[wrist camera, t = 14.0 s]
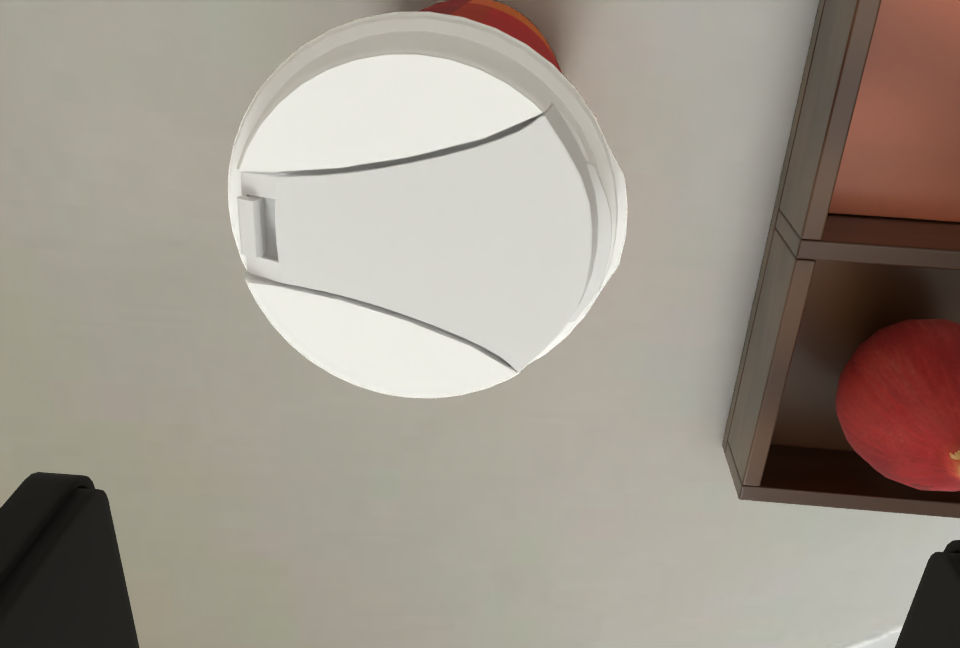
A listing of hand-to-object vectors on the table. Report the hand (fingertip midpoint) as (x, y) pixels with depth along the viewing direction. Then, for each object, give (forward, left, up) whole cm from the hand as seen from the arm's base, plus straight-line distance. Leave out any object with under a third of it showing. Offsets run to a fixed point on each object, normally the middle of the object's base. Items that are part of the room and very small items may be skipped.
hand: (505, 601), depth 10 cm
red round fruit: (+11, +12, -23) cm, 28 cm away
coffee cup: (-2, -2, -23) cm, 23 cm away
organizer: (+6, +13, -23) cm, 27 cm away
